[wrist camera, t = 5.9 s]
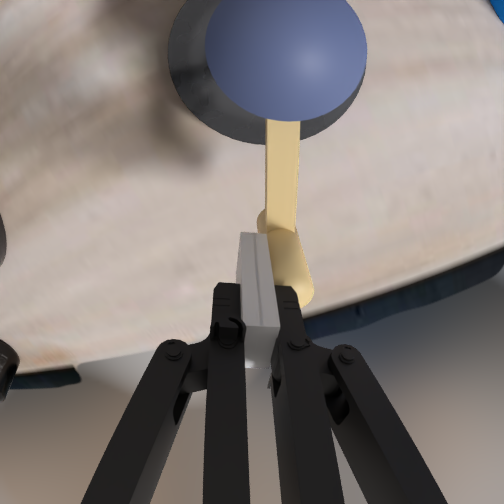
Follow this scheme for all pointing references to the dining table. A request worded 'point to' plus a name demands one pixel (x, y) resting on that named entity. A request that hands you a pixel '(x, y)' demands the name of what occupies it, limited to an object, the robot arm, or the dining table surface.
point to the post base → (209, 93)
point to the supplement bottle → (7, 368)
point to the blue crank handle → (285, 96)
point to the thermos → (498, 8)
